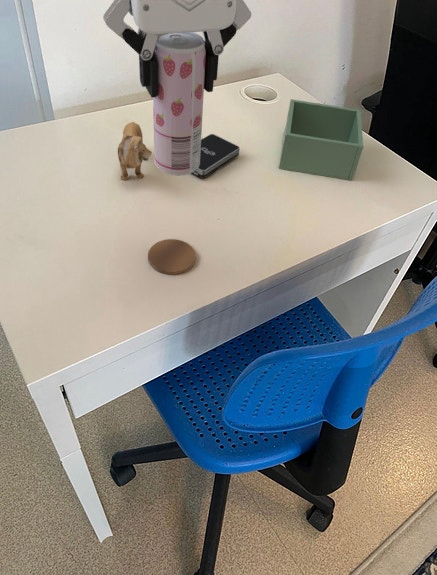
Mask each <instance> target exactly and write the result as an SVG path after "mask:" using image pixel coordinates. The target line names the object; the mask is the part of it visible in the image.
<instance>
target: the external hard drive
mask: <svg viewBox="0 0 437 575" xmlns="http://www.w3.org/2000/svg"><path fill="white" fill-rule="evenodd" d="M239 155H240V146H239V145H237V144H236V143H233V142H232V141H229V140H227V139H225V138H223V137H221V136H219V135H217V134H214V133H210V134H208V135H206V136H204V137H202V138H201V152H200V165H199V167H198V168H197V169H196V170H195V171H193V172H192V173H191V174H193V175H195V176H197V177H199V178H201V179H206V177H208V176H209V175H211V174H212V173H214V172H215V171H217V170H218V169H220V168H221V167H223V166H224V165H226V164H228V163H229V162H231V161H232V160H234V159H236V158H237V157H238V156H239Z"/></svg>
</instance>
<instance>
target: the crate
mask: <svg viewBox="0 0 437 575" xmlns="http://www.w3.org/2000/svg"><path fill="white" fill-rule="evenodd" d="M362 120H363V119H362V110H361V109H356V108H350V107H344V106H338V105H331V104H326V103H325V104H324V103H318V102H312V101H306V100H298V99H291V98H290V101H289V105H288V110H287V115H286V121H285V126H284V131H283V139H282V144H281V152H280V158H279V166H278V169H279V170H285V171H292V172H297V173H304V174H310V175H316V176H322V177H329V178H336V179H341V180H348V181H353V179H354V177H355V173H356V170H357V168H358V165H359V161H360V159H361V155H362V153H363V150H364V137H363V122H362Z"/></svg>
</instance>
